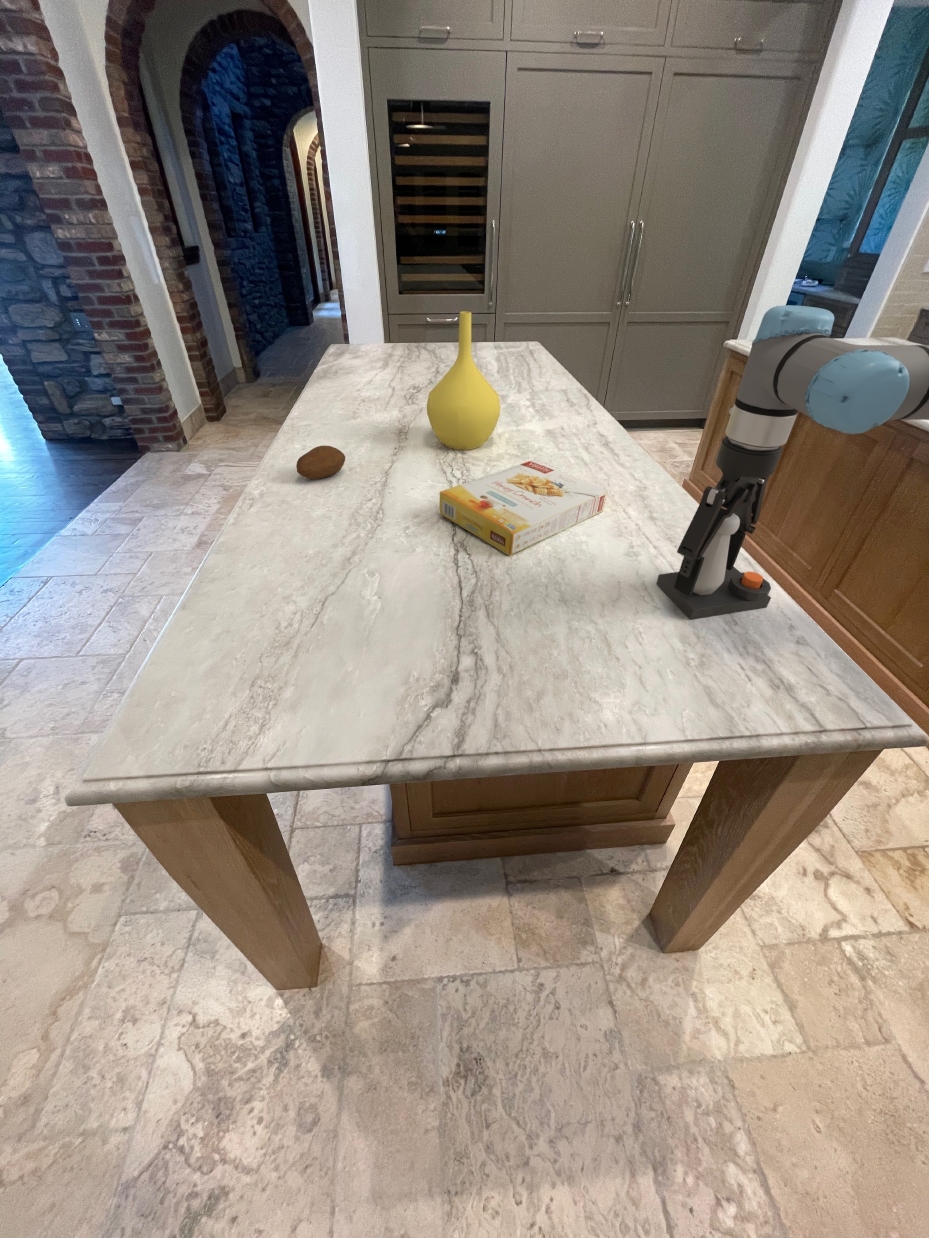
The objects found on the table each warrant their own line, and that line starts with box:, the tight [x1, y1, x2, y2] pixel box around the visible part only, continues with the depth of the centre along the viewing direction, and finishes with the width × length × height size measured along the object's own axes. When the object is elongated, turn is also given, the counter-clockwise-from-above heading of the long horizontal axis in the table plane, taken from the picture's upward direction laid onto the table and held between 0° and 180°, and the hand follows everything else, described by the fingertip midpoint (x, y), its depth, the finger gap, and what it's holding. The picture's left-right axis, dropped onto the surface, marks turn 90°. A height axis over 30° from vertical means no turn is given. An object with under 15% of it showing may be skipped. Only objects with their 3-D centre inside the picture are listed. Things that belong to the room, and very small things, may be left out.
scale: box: [655, 565, 772, 621], centre depth 86 cm, size 14×10×4 cm
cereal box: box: [438, 458, 608, 557], centre depth 107 cm, size 20×6×28 cm
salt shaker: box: [693, 513, 740, 595], centre depth 82 cm, size 6×6×13 cm
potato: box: [295, 445, 346, 480], centre depth 118 cm, size 7×12×7 cm, turn 136°
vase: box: [426, 310, 501, 451], centre depth 130 cm, size 18×18×30 cm
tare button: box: [741, 571, 764, 589], centre depth 84 cm, size 3×3×2 cm
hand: (703, 578), depth 85 cm, fingers open, 11 cm apart
